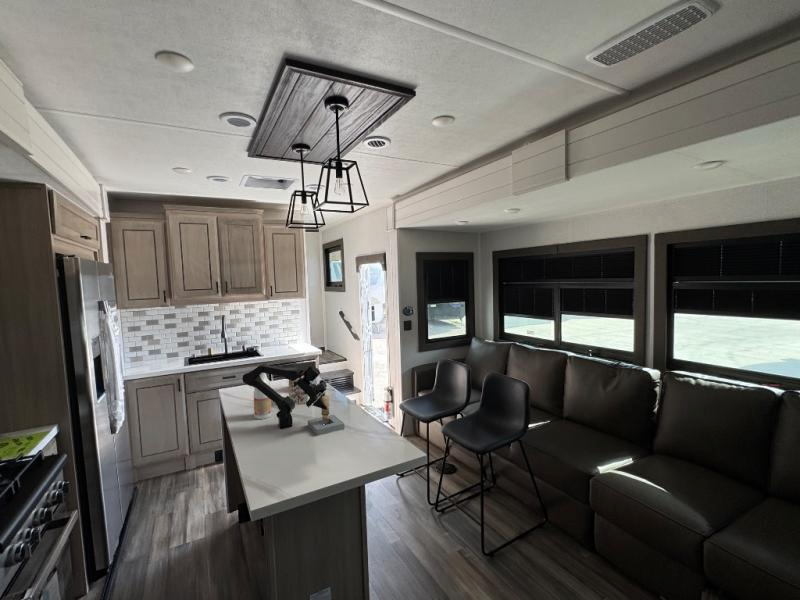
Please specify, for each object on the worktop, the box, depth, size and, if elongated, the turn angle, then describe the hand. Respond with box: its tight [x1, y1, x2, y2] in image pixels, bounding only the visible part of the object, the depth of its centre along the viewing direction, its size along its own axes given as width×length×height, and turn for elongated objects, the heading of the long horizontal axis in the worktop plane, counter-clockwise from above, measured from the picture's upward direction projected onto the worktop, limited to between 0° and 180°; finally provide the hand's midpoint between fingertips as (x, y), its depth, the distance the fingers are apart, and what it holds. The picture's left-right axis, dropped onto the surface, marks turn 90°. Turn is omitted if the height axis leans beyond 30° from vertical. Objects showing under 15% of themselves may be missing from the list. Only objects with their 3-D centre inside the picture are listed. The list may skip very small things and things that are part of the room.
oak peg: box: [320, 395, 330, 421], centre depth 199 cm, size 4×4×12 cm
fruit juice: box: [253, 373, 273, 420], centre depth 216 cm, size 9×9×28 cm
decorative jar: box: [288, 376, 309, 405], centre depth 240 cm, size 12×12×18 cm
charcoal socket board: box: [307, 414, 345, 436], centre depth 200 cm, size 15×15×3 cm
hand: (327, 407), depth 199 cm, fingers closed on oak peg, 4 cm apart
